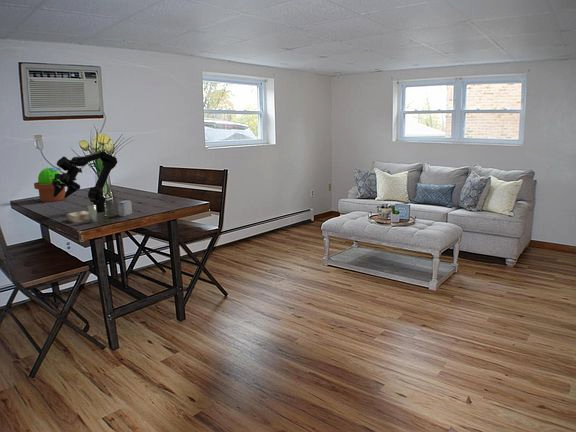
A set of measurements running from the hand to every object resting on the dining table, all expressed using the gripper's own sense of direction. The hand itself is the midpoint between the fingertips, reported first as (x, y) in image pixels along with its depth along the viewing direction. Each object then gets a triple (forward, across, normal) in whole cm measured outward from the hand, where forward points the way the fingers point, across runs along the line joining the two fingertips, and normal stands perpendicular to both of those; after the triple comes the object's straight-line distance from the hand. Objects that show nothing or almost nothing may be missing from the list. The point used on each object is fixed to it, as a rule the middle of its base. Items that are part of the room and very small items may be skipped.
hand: (59, 197), depth 260 cm
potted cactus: (-18, -68, +44) cm, 83 cm away
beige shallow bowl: (+8, +8, +13) cm, 17 cm away
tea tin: (+8, +21, +13) cm, 26 cm away
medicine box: (-5, +25, +29) cm, 39 cm away
